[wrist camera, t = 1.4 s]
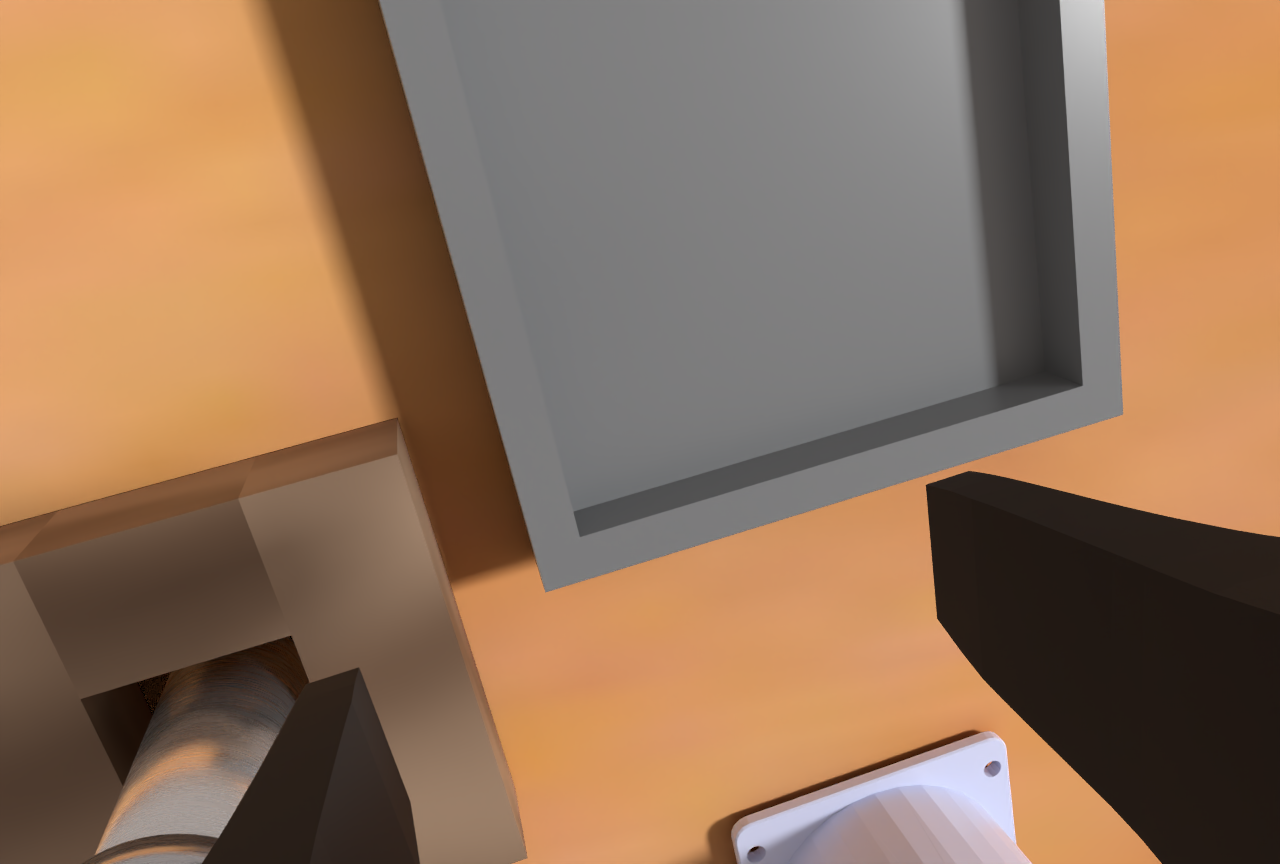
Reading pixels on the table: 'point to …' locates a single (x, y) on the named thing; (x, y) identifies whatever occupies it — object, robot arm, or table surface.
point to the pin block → (241, 635)
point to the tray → (765, 247)
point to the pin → (201, 754)
